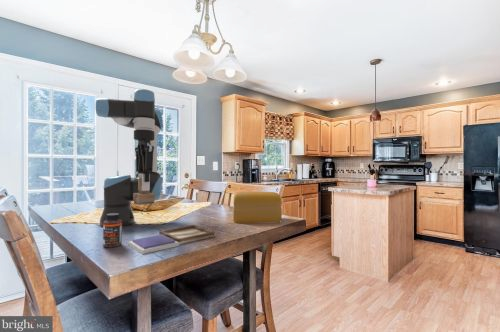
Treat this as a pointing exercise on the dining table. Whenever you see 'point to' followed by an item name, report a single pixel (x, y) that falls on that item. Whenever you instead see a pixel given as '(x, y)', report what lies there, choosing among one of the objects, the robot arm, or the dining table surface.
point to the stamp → (143, 196)
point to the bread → (257, 207)
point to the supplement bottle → (112, 231)
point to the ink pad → (152, 243)
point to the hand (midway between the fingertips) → (143, 190)
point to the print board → (187, 234)
